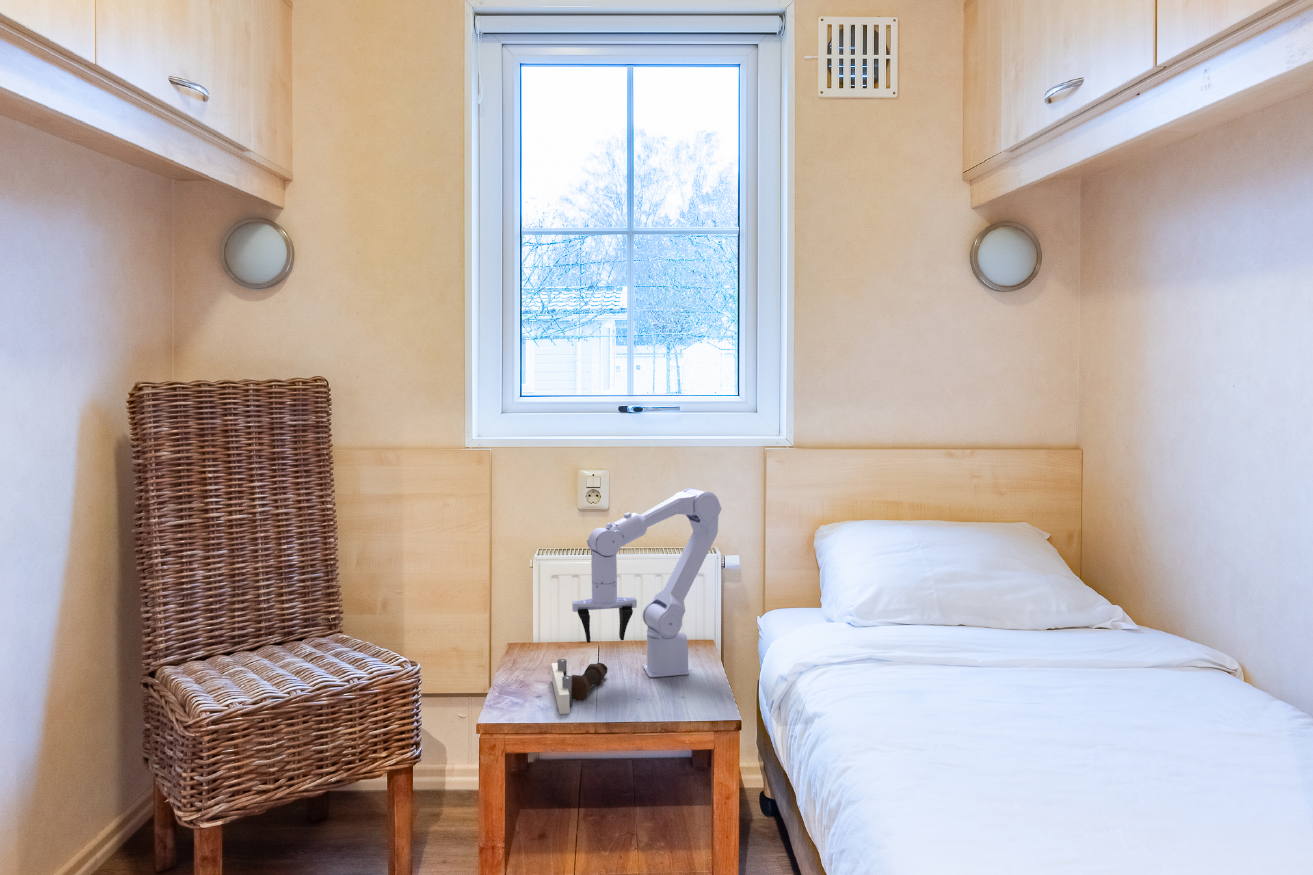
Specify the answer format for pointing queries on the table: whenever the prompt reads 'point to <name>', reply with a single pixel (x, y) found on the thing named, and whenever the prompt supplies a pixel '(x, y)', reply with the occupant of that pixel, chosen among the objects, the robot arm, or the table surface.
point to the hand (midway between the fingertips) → (605, 640)
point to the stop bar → (562, 686)
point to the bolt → (587, 681)
